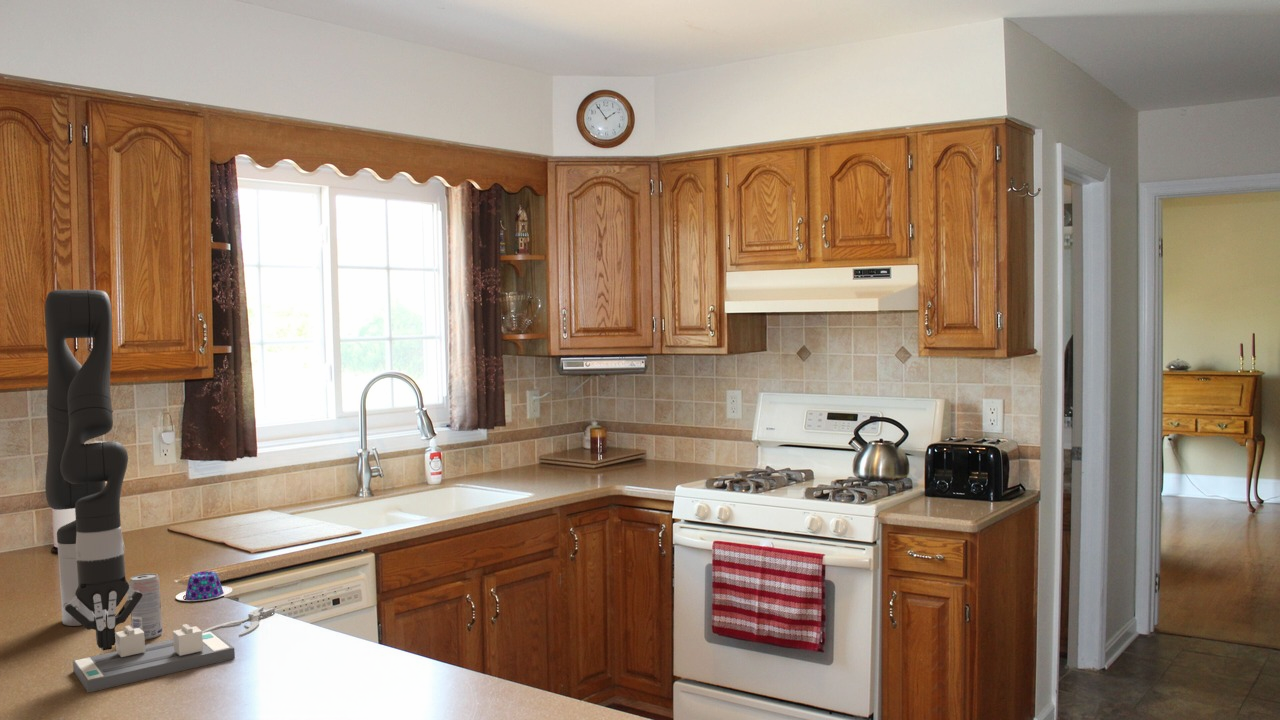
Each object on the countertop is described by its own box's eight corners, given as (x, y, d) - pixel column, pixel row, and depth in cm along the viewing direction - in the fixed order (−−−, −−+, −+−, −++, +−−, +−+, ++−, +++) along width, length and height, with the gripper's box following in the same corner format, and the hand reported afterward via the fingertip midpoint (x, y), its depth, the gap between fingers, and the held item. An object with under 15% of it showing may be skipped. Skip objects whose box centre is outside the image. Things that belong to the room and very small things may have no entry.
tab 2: (174, 650, 184) (172, 626, 183) (197, 645, 186) (195, 621, 186) (179, 655, 180) (178, 631, 180) (203, 650, 183) (201, 626, 183)
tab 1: (116, 651, 184) (115, 628, 184) (140, 646, 187) (139, 623, 186) (121, 657, 181) (119, 633, 181) (145, 651, 183) (143, 628, 183)
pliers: (199, 628, 201) (247, 606, 215) (199, 635, 201) (248, 613, 215) (241, 630, 198) (288, 608, 212) (242, 638, 198) (288, 615, 212)
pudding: (176, 607, 222) (174, 583, 222) (174, 594, 233) (173, 572, 233) (234, 598, 227) (233, 575, 227) (230, 586, 238) (229, 564, 238)
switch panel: (73, 671, 181) (72, 659, 181) (213, 640, 196) (212, 629, 196) (88, 692, 170) (87, 680, 170) (234, 658, 185) (234, 646, 185)
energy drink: (156, 630, 204) (153, 571, 204) (166, 635, 201) (162, 575, 200) (128, 636, 201) (124, 577, 200) (137, 642, 197) (134, 581, 196)
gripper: (136, 544, 188) (142, 636, 188) (55, 556, 179) (61, 652, 180) (145, 550, 182) (151, 645, 182) (61, 564, 174) (67, 663, 174)
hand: (106, 648), depth 181 cm, fingers closed
